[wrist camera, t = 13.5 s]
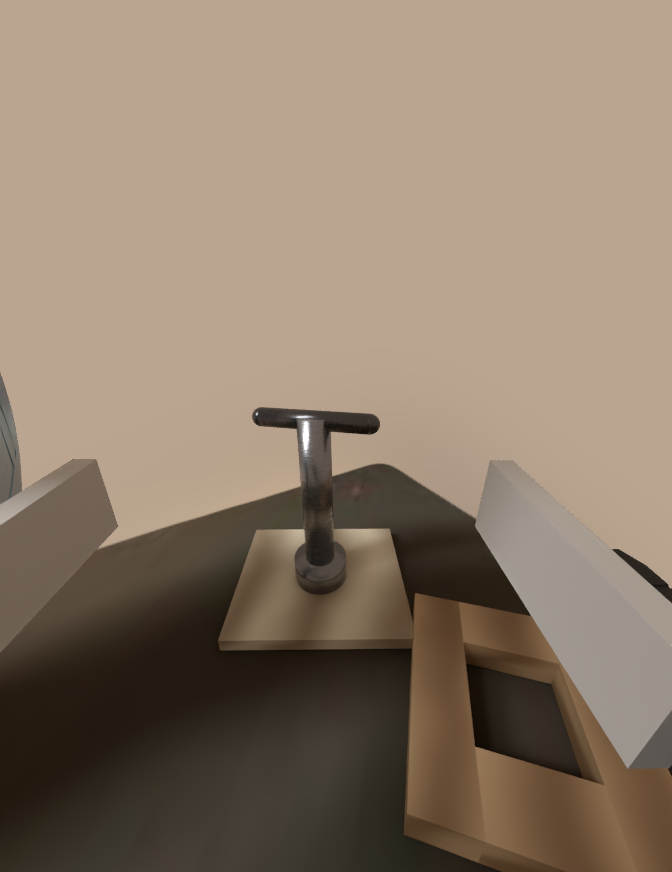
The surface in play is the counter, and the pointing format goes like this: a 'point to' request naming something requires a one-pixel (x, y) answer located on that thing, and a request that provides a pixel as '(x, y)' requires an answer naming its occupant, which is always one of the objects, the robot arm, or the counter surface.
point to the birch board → (319, 598)
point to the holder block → (519, 761)
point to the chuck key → (317, 489)
